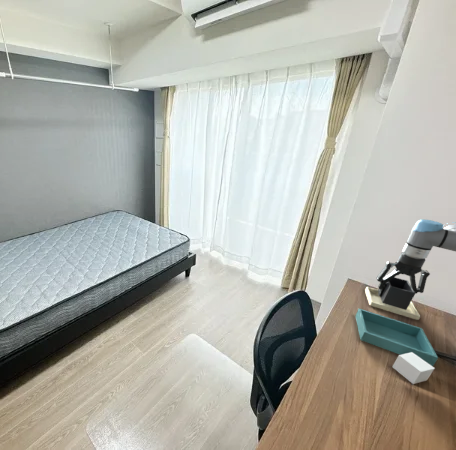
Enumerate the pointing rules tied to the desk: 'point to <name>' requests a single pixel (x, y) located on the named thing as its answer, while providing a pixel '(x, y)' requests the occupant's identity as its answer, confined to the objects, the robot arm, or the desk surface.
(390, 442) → the desk surface
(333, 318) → the desk surface
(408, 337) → the tray
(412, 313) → the tray
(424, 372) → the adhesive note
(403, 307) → the small bin
